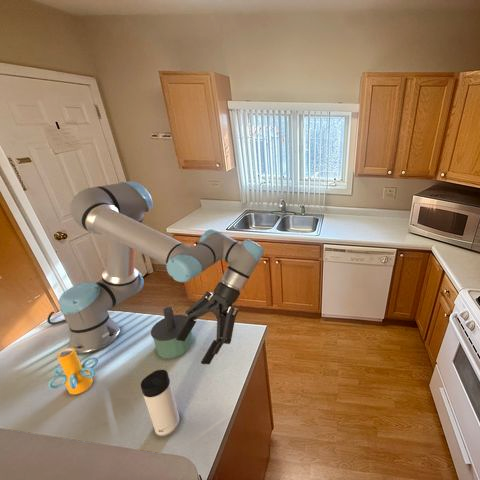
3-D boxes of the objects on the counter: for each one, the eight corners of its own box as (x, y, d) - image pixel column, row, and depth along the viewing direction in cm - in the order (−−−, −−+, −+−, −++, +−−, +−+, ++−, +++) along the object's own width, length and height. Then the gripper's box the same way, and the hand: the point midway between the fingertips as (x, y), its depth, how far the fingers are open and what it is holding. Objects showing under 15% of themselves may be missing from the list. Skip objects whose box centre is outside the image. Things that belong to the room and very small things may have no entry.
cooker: (153, 345, 100) (148, 326, 97) (186, 330, 109) (183, 312, 105) (162, 364, 92) (157, 345, 89) (197, 347, 101) (194, 328, 97)
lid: (147, 327, 97) (141, 308, 93) (184, 312, 106) (180, 294, 102) (156, 348, 88) (151, 327, 85) (196, 330, 97) (193, 310, 93)
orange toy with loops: (112, 372, 89) (99, 340, 83) (88, 401, 79) (72, 367, 73) (75, 372, 88) (60, 339, 82) (46, 401, 78) (27, 366, 72)
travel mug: (164, 442, 70) (149, 393, 62) (150, 429, 73) (134, 380, 65) (185, 422, 75) (173, 374, 67) (171, 410, 78) (159, 363, 70)
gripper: (264, 304, 76) (226, 374, 71) (216, 276, 89) (180, 333, 84) (249, 298, 70) (206, 374, 65) (199, 268, 83) (160, 330, 78)
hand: (192, 351), depth 74 cm, fingers open, 13 cm apart
